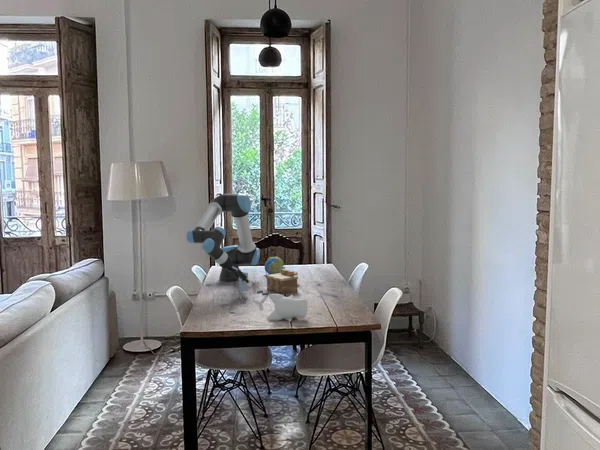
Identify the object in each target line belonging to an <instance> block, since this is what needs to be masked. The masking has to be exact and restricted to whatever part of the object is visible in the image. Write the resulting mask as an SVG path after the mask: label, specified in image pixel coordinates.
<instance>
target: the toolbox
mask: <svg viewBox="0 0 600 450" xmlns="http://www.w3.org/2000/svg"><path fill="white" fill-rule="evenodd" d="M266 285H267V286H266V289H267V291H270V292H274V293H275V294H281V295H285V294H290V293H291V294H292V293H297V292H298V279H292V280H285V281H279V280H275V279H272V278H268V277H266Z"/></svg>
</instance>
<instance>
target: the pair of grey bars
mask: <svg viewBox="0 0 600 450" xmlns="http://www.w3.org/2000/svg"><path fill="white" fill-rule="evenodd" d="M256 293H257V294H260V293H261V295H262V296H265V295H270V292H269V291H264V289H262V290H261V289H259V290H256Z"/></svg>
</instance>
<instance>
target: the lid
mask: <svg viewBox="0 0 600 450" xmlns="http://www.w3.org/2000/svg"><path fill="white" fill-rule="evenodd" d="M294 271H295V270H291V269H286V268H285V269H281V273H278V274H266V275H265V277H266V278H267V277H268V278H272V279H275V280H279V281H285V280H292V279H297V280H298V279H299V276H298V277H297V276H294Z"/></svg>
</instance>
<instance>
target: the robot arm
mask: <svg viewBox="0 0 600 450" xmlns="http://www.w3.org/2000/svg"><path fill="white" fill-rule="evenodd" d="M251 204H252V203H251V199H250V196H249V195H248V194H246V193H221V194H219V195H218V196H216V197H214V198H213V199H212V200H211V201H209V204H208V205H207V209H206V210H205V212H204V214H203V215H202V217H201V219H199V221H198V223H197V225H196V226H195V227H194V229H190V230H187V232H186V241H187V243H191V244H201V249H202V250H203V251H204V252H205V253H206V254H207V255H208V256H209V257H210V258H212V260H213V261H214V262H215V264H218V265H219V266H220V267H221V271H220V273H219V277H218V279H220V280H219V281H221V280H223V282H235V280H237V281H239V277H240V278H241V279H242V281H243V282H244V283H245V284H246V285H248V288H251V287H252V286H253V282H251V281H250V280H249V278H248V279H247V276H246V275H245V274H244V273H243V272H244V271H242V270H241V269H240V267H239V265H241V266H242V265H245V266H246V265H247V266H255V265H258V263H259V261H260V256H261V249H260V248H258V247H257V245H256V244H255V243H254V242H253V237H252V232H251V226H250V222H249V221H250V220H249V213H250V211H251V210H252V205H251ZM222 213H230V216H231V217H233V218H234V221H235V222H234V224H235V227H236V232H237V237H238V240H239V244H234V245H227V246H224V247H222V248H221V246H222V243H223V241H224V240H225V236H226V230H225V229H224V227H221V226H216V227H214V228H213V229H212V230H210V229H211V228H212V226H213V224H214V223H215V221H216V219H217V218H218V216H220V215H221V214H222Z"/></svg>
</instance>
